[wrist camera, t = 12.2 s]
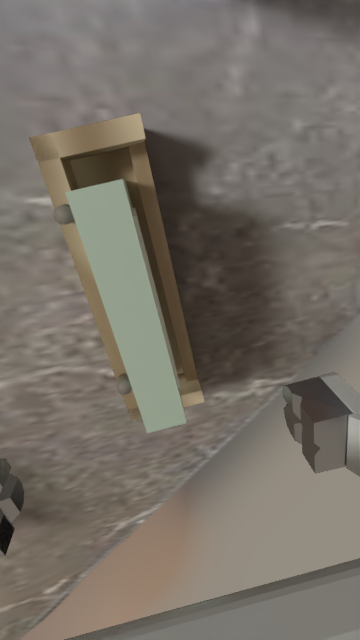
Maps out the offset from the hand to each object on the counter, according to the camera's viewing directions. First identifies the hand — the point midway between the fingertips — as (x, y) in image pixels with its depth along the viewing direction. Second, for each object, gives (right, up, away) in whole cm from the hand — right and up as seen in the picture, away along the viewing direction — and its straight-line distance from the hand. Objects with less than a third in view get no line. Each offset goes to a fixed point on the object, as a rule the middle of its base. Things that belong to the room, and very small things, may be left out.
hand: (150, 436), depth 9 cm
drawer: (-3, +7, +16) cm, 17 cm away
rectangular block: (-2, +6, +14) cm, 16 cm away
